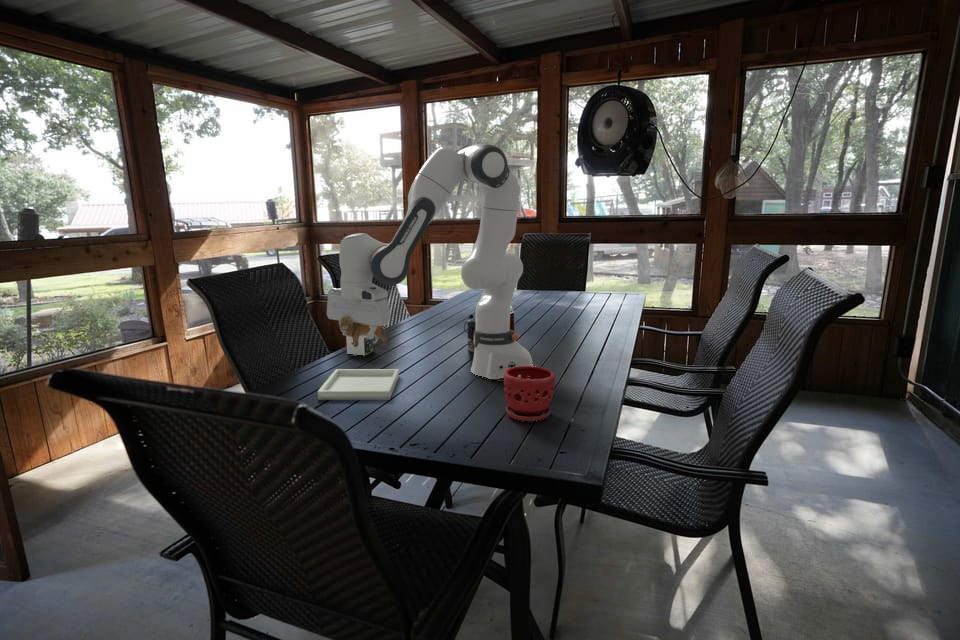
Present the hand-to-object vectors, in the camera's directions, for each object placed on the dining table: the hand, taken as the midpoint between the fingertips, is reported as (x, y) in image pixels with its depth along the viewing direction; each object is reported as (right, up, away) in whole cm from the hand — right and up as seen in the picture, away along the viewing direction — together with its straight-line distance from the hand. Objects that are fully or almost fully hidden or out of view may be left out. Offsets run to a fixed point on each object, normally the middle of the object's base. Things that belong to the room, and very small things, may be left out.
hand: (358, 336), depth 151 cm
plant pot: (+48, -20, -16) cm, 55 cm away
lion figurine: (+2, -3, +1) cm, 3 cm away
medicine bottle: (-9, -7, +39) cm, 41 cm away
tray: (0, -15, +3) cm, 16 cm away
